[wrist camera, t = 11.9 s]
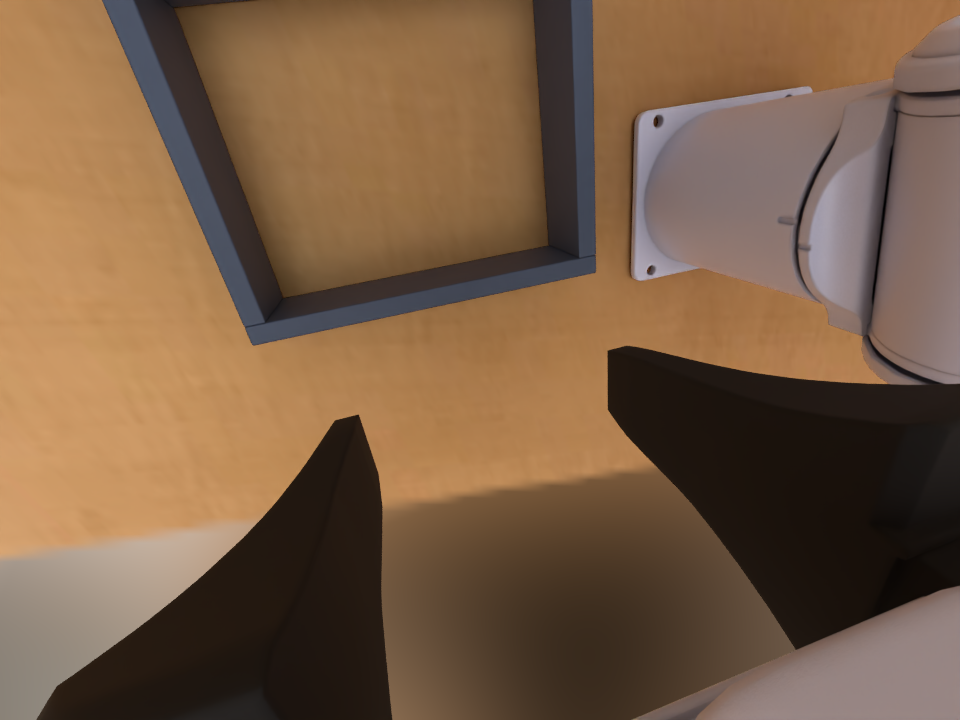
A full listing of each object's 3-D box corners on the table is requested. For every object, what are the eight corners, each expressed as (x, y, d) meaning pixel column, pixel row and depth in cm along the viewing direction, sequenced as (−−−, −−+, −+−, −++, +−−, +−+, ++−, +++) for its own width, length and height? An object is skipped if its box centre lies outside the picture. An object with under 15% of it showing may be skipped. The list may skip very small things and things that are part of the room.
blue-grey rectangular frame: (548, -55, 16) (591, -110, 13) (564, 257, 21) (596, 272, 18) (137, -20, 14) (68, -76, 10) (271, 317, 19) (252, 346, 16)
